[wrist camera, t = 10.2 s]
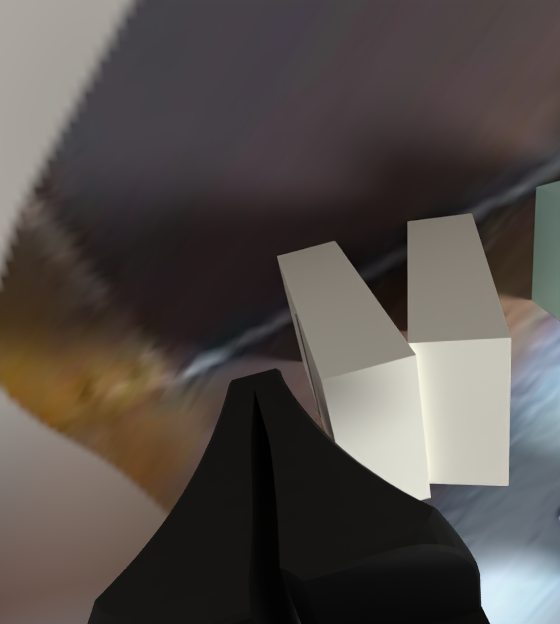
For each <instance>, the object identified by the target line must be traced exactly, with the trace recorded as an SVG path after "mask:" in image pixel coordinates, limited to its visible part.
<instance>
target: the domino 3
mask: <svg viewBox="0 0 560 624" xmlns="http://www.w3.org/2000/svg"><path fill="white" fill-rule="evenodd" d="M532 301H533V302H535V303H536V304H537V305H539V306H540V307H541V308H543V309H544V310H545V311H547V312H548V313H550V314H551V315H552V316H554V317H555V318H556V319H558V320H559V321H560V181H557V182H553V183H549V184H546V185H542V186H538V187H536V203H535V228H534V253H533V278H532Z"/></svg>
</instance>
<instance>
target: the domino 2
mask: <svg viewBox="0 0 560 624" xmlns="http://www.w3.org/2000/svg"><path fill="white" fill-rule="evenodd" d="M407 230H408V344H409V345H410V347H411V348H412V350H413V351H414V352H415V354H416V358H417V368H418V378H419V387H420V397H421V407H422V417H423V427H424V436H425V446H426V456H427V466H428V475H429V483H430V484H462V485H493V486H509V438H510V380H511V335H510V332H509V329H508V326H507V323H506V320H505V316H504V313H503V310H502V307H501V304H500V301H499V297H498V294H497V291H496V288H495V285H494V282H493V278H492V275H491V272H490V269H489V266H488V263H487V259H486V256H485V253H484V250H483V247H482V244H481V240H480V237H479V234H478V231H477V228H476V225H475V221H474V218H473V215H472V213H470V214H462V215H454V216H446V217H439V218H431V219H423V220H415V221H407Z"/></svg>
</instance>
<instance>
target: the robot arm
mask: <svg viewBox="0 0 560 624" xmlns="http://www.w3.org/2000/svg"><path fill="white" fill-rule="evenodd" d="M559 521H560V516H559ZM299 620H300V621H299ZM300 622H301V624H490V623H489V621H488V619H487V617H486V615H485V613H484V611H483V609H482V607H481V588H480V573H479V569H478V565H477V563H476V561H475V559H474V557H473V555H472V554H471V552H470V551H469V549H468V548H467V546H466V545H465V543H464V542H463V541H462V539H461V538H460V536H459V535H458V534H457V532H456V531H455V530H454V529H453V527H452V526H451V525H450V524H449V523H448V521H447V520H446V519H445V518H444V517H443V516H442V514H441V513H440V512H439V511H438V510H437V509H436V508H434V507H432V506H430V505H428V504H426V503H424V502H422V501H420V500H418V499H416V498H415V497H413V496H411V495H409V494H407V493H405V492H404V491H402V490H400V489H399V488H397V487H395V486H394V485H392V484H390V483H389V482H387V481H385V480H384V479H382V478H381V477H380V476H378V475H377V474H375V473H374V472H372V471H371V470H370V469H368V468H367V467H365V466H364V465H362V464H361V463H359V462H358V461H357V460H356V459H354V458H353V457H352V456H351V455H349V454H348V453H347V452H346V451H345V450H343V449H342V448H341V447H340V446H339V445H338V444H337V443H335V442H334V441H333V440H332V439H331V438H330V437H329V436H328V435H327V434H326V433H325V432H324V431H323V430H322V429H321V428H320V427H319V426H318V425H317V424H316V423H315V422H314V421H313V419H312V418H311V417H310V416H309V415H308V414H307V412H306V411H305V410H304V409H303V407H302V406H301V405H300V404H299V402H298V401H297V400H296V398H295V397H294V396H293V394H292V393H291V391H290V390H289V388H288V386H287V385H286V383H285V381H284V379H283V377H282V375H281V371H280V370H278V369H276V368H275V369H272V370H268V371H264V372H261V373H257V374H253V375H249V376H246V377H242V378H238V379H235V380H232V381H231V383H230V384H229V387H228V391H227V395H226V399H225V402H224V405H223V408H222V411H221V414H220V417H219V419H218V422H217V424H216V427H215V430H214V432H213V435H212V437H211V440H210V442H209V444H208V446H207V448H206V450H205V453H204V455H203V457H202V459H201V461H200V463H199V465H198V467H197V469H196V471H195V473H194V475H193V477H192V478H191V480H190V482H189V484H188V485H187V487H186V489H185V490H184V492H183V494H182V495H181V497H180V498H179V500H178V502H177V503H176V505H175V506H174V508H173V509H172V511H171V512H170V514H169V515H168V517H167V518H166V520H165V521H164V522H163V524H162V525H161V527H160V528H159V529H158V530H157V532H156V533H155V534H154V536H153V537H152V538H151V539H150V541H149V542H148V543H147V544H146V546H145V547H144V548H143V549H142V551H141V552H140V553H139V554H138V555H137V557H136V558H135V559H134V560H133V561H132V562H131V563H130V564H129V566H128V567H127V568H126V569H125V570H124V571H123V572H122V573H121V574H120V575H119V576H118V577H117V578H116V579H115V580H114V582H113V583H112V584H111V585H110V586H109V587H108V588H107V589H106V590H105V591H104V592H103V593H102V594H101V595H100V596H99V597H98V598H97V599H96V600H95V602H94V605H93V609H92V612H91V615H90V618H89V621H88V624H300Z"/></svg>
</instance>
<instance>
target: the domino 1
mask: <svg viewBox="0 0 560 624" xmlns="http://www.w3.org/2000/svg"><path fill="white" fill-rule="evenodd" d="M277 259H278V263H279V267H280V271H281V275H282V279H283V283H284V287H285V291H286V295H287V299H288V303H289V307H290V311H291V316H292V320H293V324H294V328H295V332H296V336H297V340H298V344H299V348H300V352H301V356H302V360H303V364H304V367H305V370H306V373H307V376H308V379H309V382H310V386H311V389H312V392H313V395H314V398H315V401H316V404H317V407H318V411H319V415H320V417H321V420H322V423H323V426H324V429H325V433H326V434H327V435H328V436H329V437H330V438H331V439H332V440H333V441H334V442H335V443H337V444H338V445H339V446H340V447H341V448H342V449H343V450H345V451H346V452H347V453H348V454H349V455H351V456H352V457H353V458H354V459H356V460H357V461H358V462H359V463H361V464H362V465H364V466H365V467H367V468H368V469H370V470H371V471H372V472H374V473H375V474H377V475H378V476H380V477H381V478H382V479H384V480H385V481H387V482H389V483H390V484H392V485H394V486H395V487H397V488H399V489H400V490H402V491H404V492H405V493H407V494H409V495H411V496H413V497H415V498H416V499H418V500H424V499H427V498H431V495H430V485H429V475H428V466H427V456H426V446H425V436H424V427H423V417H422V407H421V397H420V387H419V378H418V368H417V358H416V354H415V352H414V351H413V350H412V348H411V347H410V345H409V344H408V343H407V341H406V340H405V338H404V337H403V336H402V334H401V333H400V331H399V330H398V329H397V327H396V326H395V324H394V323H393V322H392V320H391V319H390V317H389V316H388V315H387V313H386V312H385V310H384V309H383V307H382V306H381V305H380V303H379V302H378V300H377V299H376V298H375V296H374V295H373V293H372V292H371V291H370V289H369V288H368V286H367V285H366V284H365V282H364V281H363V279H362V278H361V277H360V275H359V274H358V272H357V271H356V270H355V268H354V267H353V265H352V264H351V263H350V261H349V260H348V258H347V257H346V255H345V254H344V253H343V251H342V250H341V248H340V247H339V246H338V244H337V243H336V241H332V242H328V243H325V244H321V245H317V246H313V247H310V248H306V249H302V250H298V251H294V252H291V253H287V254H283V255H279V256H277Z"/></svg>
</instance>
